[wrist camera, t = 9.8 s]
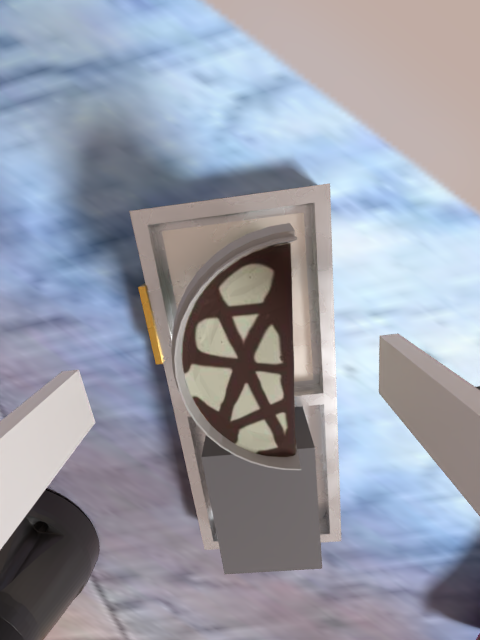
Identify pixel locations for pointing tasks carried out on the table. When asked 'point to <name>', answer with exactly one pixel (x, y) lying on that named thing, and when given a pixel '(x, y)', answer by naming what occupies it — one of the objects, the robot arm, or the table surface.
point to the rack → (307, 304)
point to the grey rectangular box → (265, 508)
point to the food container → (241, 348)
